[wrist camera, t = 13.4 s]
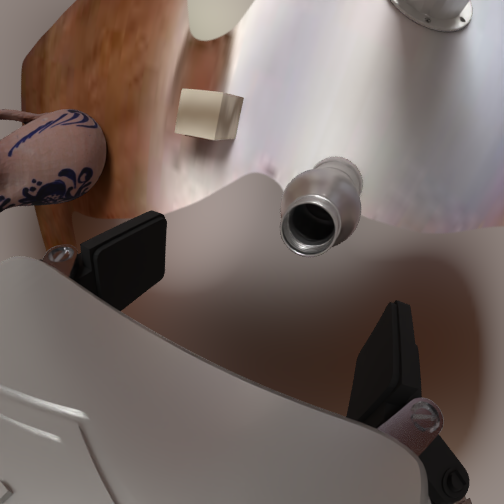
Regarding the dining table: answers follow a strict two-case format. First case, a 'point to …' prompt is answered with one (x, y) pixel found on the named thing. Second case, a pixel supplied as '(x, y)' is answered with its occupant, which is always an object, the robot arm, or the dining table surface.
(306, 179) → the silver metal bottle
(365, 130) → the dining table surface
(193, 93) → the beige cube
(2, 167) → the ceramic pitcher
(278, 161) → the dining table surface
